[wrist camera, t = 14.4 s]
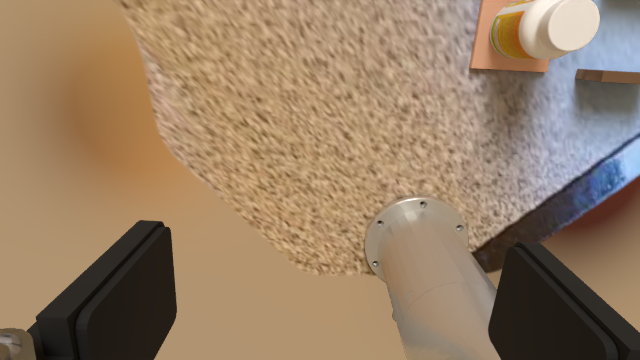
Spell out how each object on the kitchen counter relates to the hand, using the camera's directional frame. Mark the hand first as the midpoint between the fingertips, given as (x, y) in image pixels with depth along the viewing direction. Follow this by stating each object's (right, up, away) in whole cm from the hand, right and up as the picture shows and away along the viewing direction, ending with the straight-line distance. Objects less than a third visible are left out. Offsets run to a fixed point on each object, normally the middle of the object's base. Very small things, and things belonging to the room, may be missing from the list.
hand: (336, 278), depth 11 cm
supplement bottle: (+19, +18, +28) cm, 39 cm away
